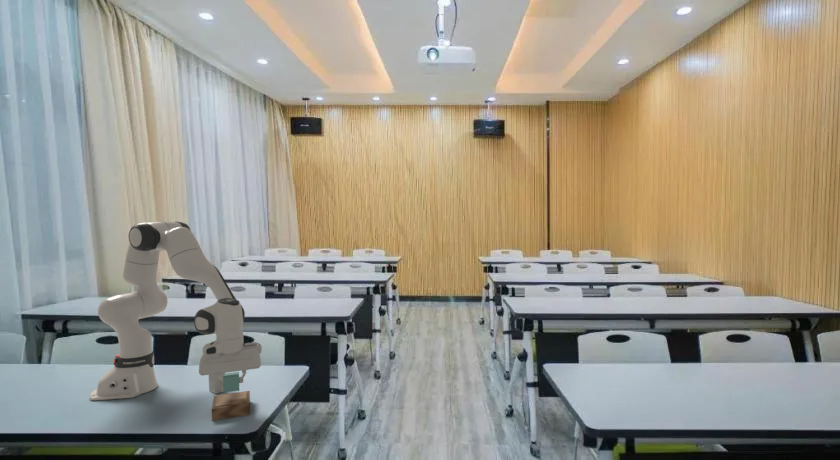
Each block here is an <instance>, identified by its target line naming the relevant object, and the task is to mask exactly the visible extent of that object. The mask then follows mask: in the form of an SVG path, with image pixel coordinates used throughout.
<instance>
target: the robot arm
mask: <svg viewBox="0 0 840 460" xmlns="http://www.w3.org/2000/svg"><path fill="white" fill-rule="evenodd" d="M128 242H129V245H128V247H127V251H126V254H125V255H126V256H125V261H124V266H123V273H122V277H123V279H124V281H125V282H126V283H127V284H129V285H132V286H133V290H132V292H128V293H127V292H126V293H122V294H115V295H113V296H110V297H108V298H105V299H103V300H102V301H101V302H100V304H99V306H98V309H97V314H98V317H99V319H100V320H101V321H102V322H103V323H104V324H107V326H110V327H111V328H112V329H113V330H114V332H115V333H116V336H117V340H118V348H119V349H118V350H119V354H116V355H115V356H114V359H113V367H111V368H110V369H109V370H108V371H107V372H106V373H105V374H103V375H102V376H101V377H100V378H99V379H98V382H97V386H96V388H95V389H94V390H93V391H92V392H91V393H90V395H89V399H90V401H106V400H115V399H116V400H117V399H119V400H120V399H132V398H136V397H138V396H140V395H142V394H146V393H149V392H150V391H153V390H155V389H157V388H158V386H159V382H158V381H157V380H158V379H157V378H156V375H155V374H156V373H155V368H154V365H155V355H154V354H155V353H154V351H153V339H152V338H153V336H152V333H151V332H150V330H148V329H147V328H144V327H141V326H140V322H139V320H141V319H145V318H146V319H147V318H151V317H153V316H155V315H158V314H160V313H162V312H164V311H165V310H166V309H167V306H168V297H167V295H166V293H165V292H164V291H163V290H161V289H160V288H159V287H158V283H157V271H158V266H159V265H158V264H159V260H160V253H161V251H165V252H166V254H167V256H168V259H169V262H170V264H171V267H172V269H173V270H174V273H175V274H176V275H177V276H179V277H180V278H182V279H185V280H188V281H194V282H199V283H202V284H203V285H206V286H207V287H209V289H210V290H211V292H212V293H213V295H214V297H215V299H216V302H214V303H213V304H212V305H209V306H206V307H204V308H200V309H199V310H198V311H197V312H196V314H195V315H194V318H193V320H194V321H193V323H194V328H195V330H196V331H197V333H199V334H201V335H204V336H205V335H212V334H215V336H216V337H215V340H213V341H211V342H209V343H205V344H204V345H203V347H202V352H201V353H202V354H201V356H200V359H199V366H198V373H199V376H201V377H202V376H209V375H211V374H215V377H216V378H217V380H218V381H219V386H221V385H223V379H221V378H220V377H219V376H220V373H225V374H226V373H234V372H241V373H242V374H241V376H239V384H242V383H244V378H245V376H246V375H247V371H249V370H250V371H251V370H256V369H257V370H258V369H259V368H261V366H262V362H261V353H262V348H263V347H262V345H261V344H260V343H259V342H257V341H255V342H244V332H243V324H244V319H245V315H246V312H245V310H244V307H243V305H242V304H241V303H240V301H239V300H238V299H236V296H235V295H234V293H233V292H232V290H231V288H230V287H229V285H228V283H227V282H226V280H225V278H224V276H223V274H222V273H221V272H220V270H219V269H218V267H216V266H215V265H214V264H212V263H211V262H210V261H209V260H208V259H207V257H206V256H205V254H204V252H203V250H202V247H201V246H200V244H199V241H198V240H197V238H196V236H195V234H194V233H193V232H192V230H191V228H190V226H189V225H188V224H187V223H185V222H182V221H170V220H169V221H168V220H167V221H166V220H165V221H164V220H163V221H162V220H160V221H151V222H140V223H137V224H134V225H132V226H131V228H130V230H129V232H128Z"/></svg>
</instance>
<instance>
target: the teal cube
mask: <svg viewBox="0 0 840 460" xmlns="http://www.w3.org/2000/svg"><path fill="white" fill-rule="evenodd" d="M239 377H240V371H234V372H226V373H225V374H224V376H223V392H222V393H223V394H224V393H225V394H226V393H230V392H231V393H233V392H240V383H239Z"/></svg>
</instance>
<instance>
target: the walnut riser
mask: <svg viewBox="0 0 840 460" xmlns="http://www.w3.org/2000/svg"><path fill="white" fill-rule="evenodd" d="M250 394H251V392H250V390H245V391H236V392H231V393H230V392H229V393H225V394H224V393H223V394H215V395H213V400H212V405H211V421H212V422H213V421H218V420H226V419H232V418H238V417H243V416H251V395H250Z"/></svg>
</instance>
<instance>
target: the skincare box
mask: <svg viewBox="0 0 840 460" xmlns="http://www.w3.org/2000/svg"><path fill="white" fill-rule="evenodd" d="M224 374H226V373H220V376H219V377H220V378H221V379H223V376H224ZM208 391H210V392H212V394H215V395H218V394H219V393H224V392H223V385H221V386H219V381H218V380H217V378H216V377H215V374H211V375H208Z"/></svg>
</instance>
